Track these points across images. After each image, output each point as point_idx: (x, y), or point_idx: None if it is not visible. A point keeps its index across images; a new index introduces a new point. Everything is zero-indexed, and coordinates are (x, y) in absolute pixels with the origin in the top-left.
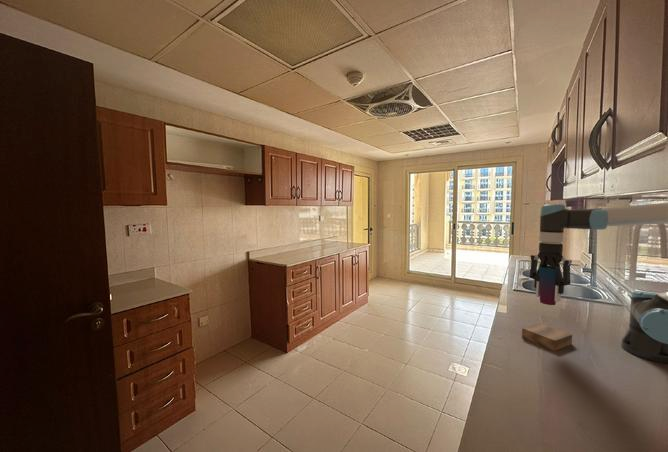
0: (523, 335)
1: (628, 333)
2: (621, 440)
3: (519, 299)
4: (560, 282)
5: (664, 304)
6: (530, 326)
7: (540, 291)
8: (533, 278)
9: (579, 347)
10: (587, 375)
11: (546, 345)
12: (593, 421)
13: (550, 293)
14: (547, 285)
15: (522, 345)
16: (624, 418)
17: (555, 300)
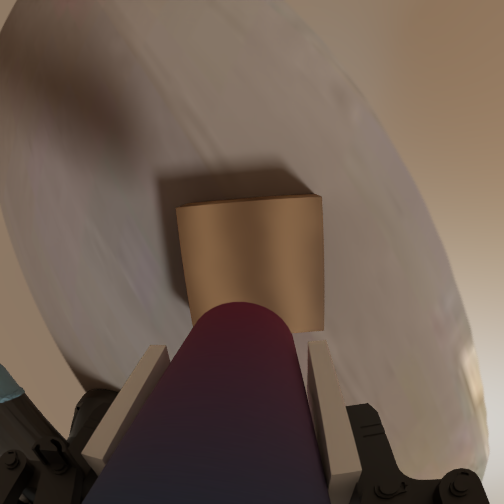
0: (309, 194)
1: None
2: (5, 30)
3: (456, 458)
4: (39, 481)
5: None
6: (319, 256)
7: (275, 366)
8: (422, 486)
9: (180, 317)
10: (72, 147)
11: (215, 201)
12: (27, 20)
13: (165, 371)
14: (155, 425)
15: (262, 123)
16: (6, 76)
17: (155, 350)
